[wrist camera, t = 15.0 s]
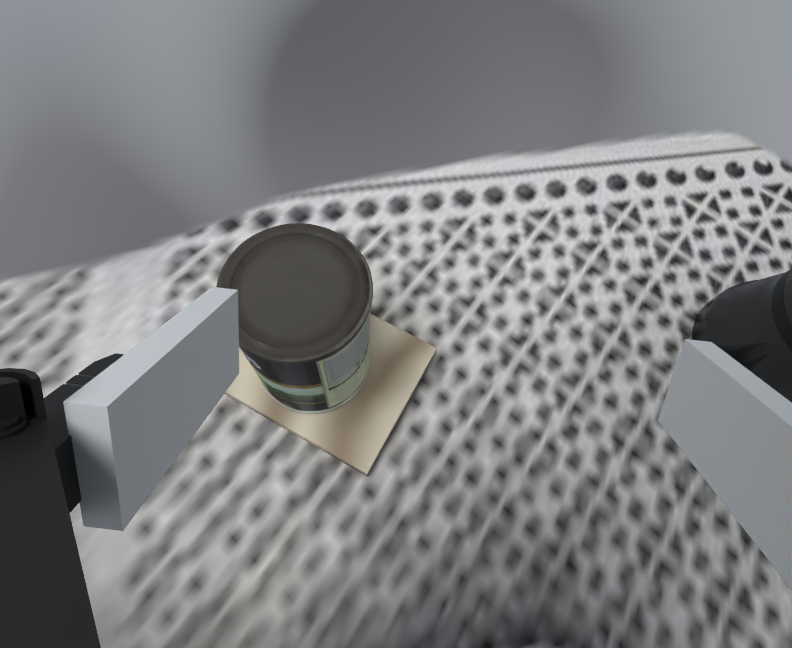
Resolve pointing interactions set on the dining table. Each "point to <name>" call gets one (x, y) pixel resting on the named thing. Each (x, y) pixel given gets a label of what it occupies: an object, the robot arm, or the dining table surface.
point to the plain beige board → (362, 415)
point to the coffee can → (303, 314)
